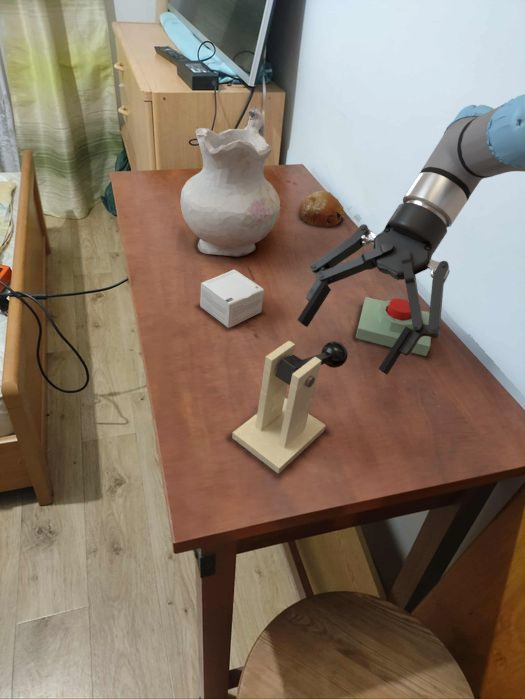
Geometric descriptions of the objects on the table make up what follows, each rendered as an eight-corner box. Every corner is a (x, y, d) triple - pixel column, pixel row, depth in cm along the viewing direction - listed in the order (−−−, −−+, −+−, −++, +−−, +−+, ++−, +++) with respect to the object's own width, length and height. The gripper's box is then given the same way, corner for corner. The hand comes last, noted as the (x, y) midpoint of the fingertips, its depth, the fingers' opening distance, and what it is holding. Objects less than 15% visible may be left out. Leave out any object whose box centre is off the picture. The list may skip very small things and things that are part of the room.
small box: (233, 292, 93) (234, 267, 90) (262, 313, 89) (265, 288, 86) (199, 306, 88) (199, 281, 85) (228, 329, 84) (230, 304, 81)
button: (410, 310, 88) (413, 302, 87) (409, 323, 85) (412, 315, 84) (387, 304, 89) (390, 296, 87) (385, 317, 86) (388, 309, 84)
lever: (325, 357, 73) (334, 335, 71) (345, 369, 71) (356, 347, 70) (268, 376, 61) (278, 351, 60) (291, 392, 60) (302, 366, 58)
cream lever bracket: (279, 400, 73) (293, 325, 64) (324, 431, 70) (345, 356, 61) (231, 438, 67) (239, 360, 58) (278, 474, 64) (294, 397, 55)
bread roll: (317, 220, 126) (310, 188, 123) (354, 217, 120) (347, 182, 117) (296, 233, 120) (288, 200, 117) (333, 230, 114) (326, 195, 110)
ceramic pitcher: (202, 215, 117) (195, 98, 101) (286, 224, 114) (293, 105, 98) (172, 263, 100) (158, 131, 84) (269, 275, 98) (274, 142, 82)
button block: (428, 322, 92) (435, 304, 89) (426, 356, 85) (434, 338, 82) (362, 306, 94) (367, 288, 91) (355, 338, 86) (360, 319, 84)
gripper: (511, 263, 68) (424, 398, 68) (355, 197, 79) (281, 313, 79) (514, 240, 61) (417, 390, 61) (343, 171, 72) (262, 298, 72)
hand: (340, 347), depth 70 cm, fingers open, 13 cm apart
